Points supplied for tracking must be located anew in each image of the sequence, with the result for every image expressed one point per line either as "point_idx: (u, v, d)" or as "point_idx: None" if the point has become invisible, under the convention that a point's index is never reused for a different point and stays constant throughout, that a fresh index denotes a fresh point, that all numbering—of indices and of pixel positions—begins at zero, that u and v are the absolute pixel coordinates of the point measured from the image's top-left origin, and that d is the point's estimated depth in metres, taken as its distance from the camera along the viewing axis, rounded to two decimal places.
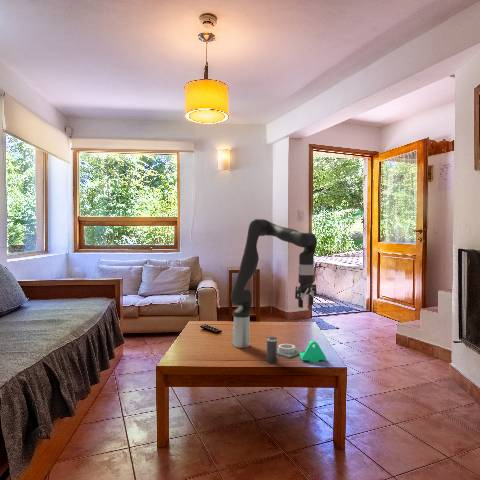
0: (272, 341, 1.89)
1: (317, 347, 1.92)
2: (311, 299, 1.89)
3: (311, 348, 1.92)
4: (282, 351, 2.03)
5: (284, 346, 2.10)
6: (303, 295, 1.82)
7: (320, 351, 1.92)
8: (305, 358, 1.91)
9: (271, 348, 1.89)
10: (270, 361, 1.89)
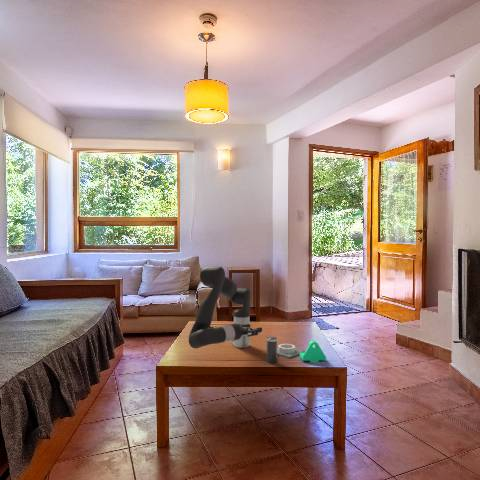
0: (272, 341, 1.89)
1: (317, 347, 1.92)
2: None
3: (311, 348, 1.91)
4: (282, 351, 2.03)
5: (284, 346, 2.10)
6: None
7: (320, 351, 1.92)
8: (305, 358, 1.91)
9: (271, 348, 1.89)
10: (270, 361, 1.89)
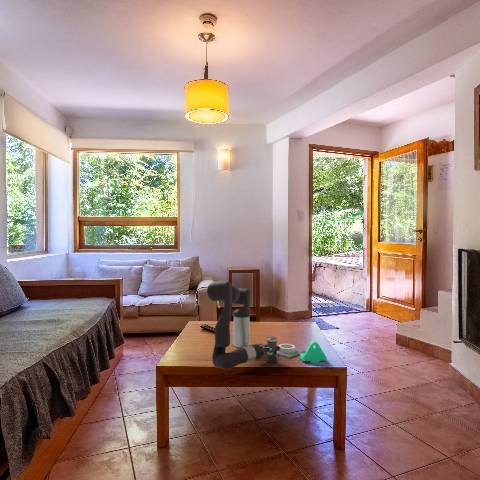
0: (272, 341, 1.89)
1: (318, 348, 1.91)
2: None
3: (312, 349, 1.91)
4: (282, 351, 2.03)
5: (284, 346, 2.10)
6: None
7: (321, 352, 1.91)
8: (306, 359, 1.90)
9: (271, 347, 1.89)
10: (270, 361, 1.89)
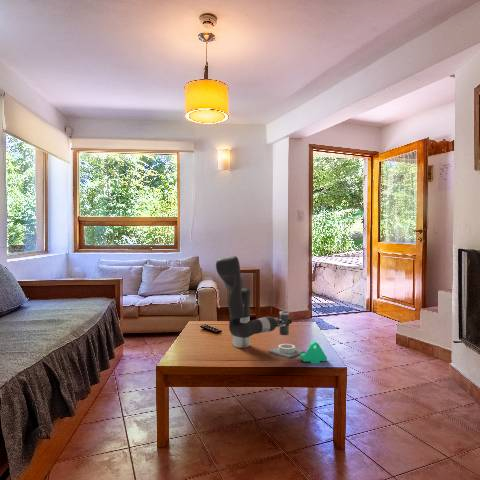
0: (285, 314, 2.01)
1: (318, 348, 1.90)
2: None
3: (312, 349, 1.90)
4: (282, 351, 2.03)
5: (284, 346, 2.10)
6: None
7: (321, 352, 1.91)
8: (306, 359, 1.90)
9: None
10: (283, 333, 2.01)
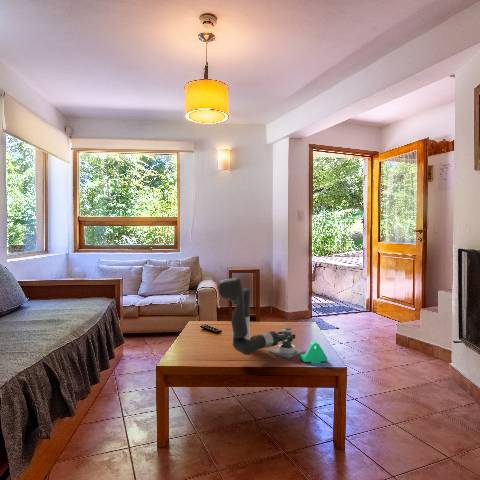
0: (287, 332, 2.03)
1: (319, 348, 1.90)
2: None
3: (313, 349, 1.89)
4: (282, 351, 2.03)
5: None
6: None
7: (322, 352, 1.90)
8: (307, 360, 1.89)
9: None
10: None
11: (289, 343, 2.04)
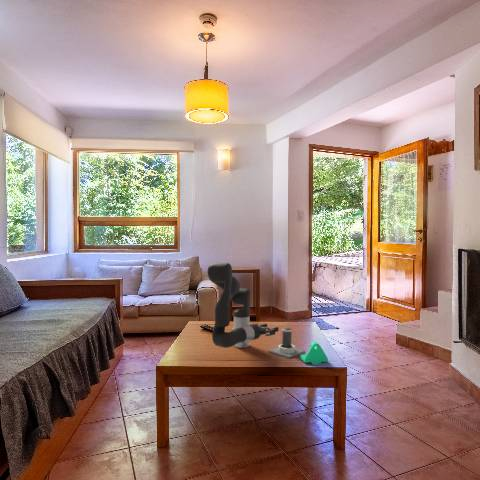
0: (287, 331, 2.04)
1: (319, 349, 1.89)
2: None
3: (313, 350, 1.89)
4: (282, 351, 2.03)
5: None
6: None
7: (322, 352, 1.90)
8: (307, 360, 1.88)
9: (286, 337, 2.04)
10: None
11: (289, 343, 2.04)
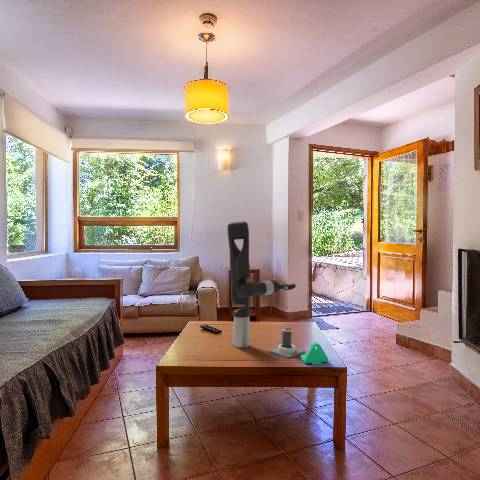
0: (287, 331, 2.04)
1: (320, 349, 1.89)
2: None
3: (314, 350, 1.88)
4: (282, 351, 2.03)
5: None
6: None
7: (323, 353, 1.89)
8: (308, 360, 1.88)
9: (286, 337, 2.04)
10: None
11: (289, 343, 2.04)
